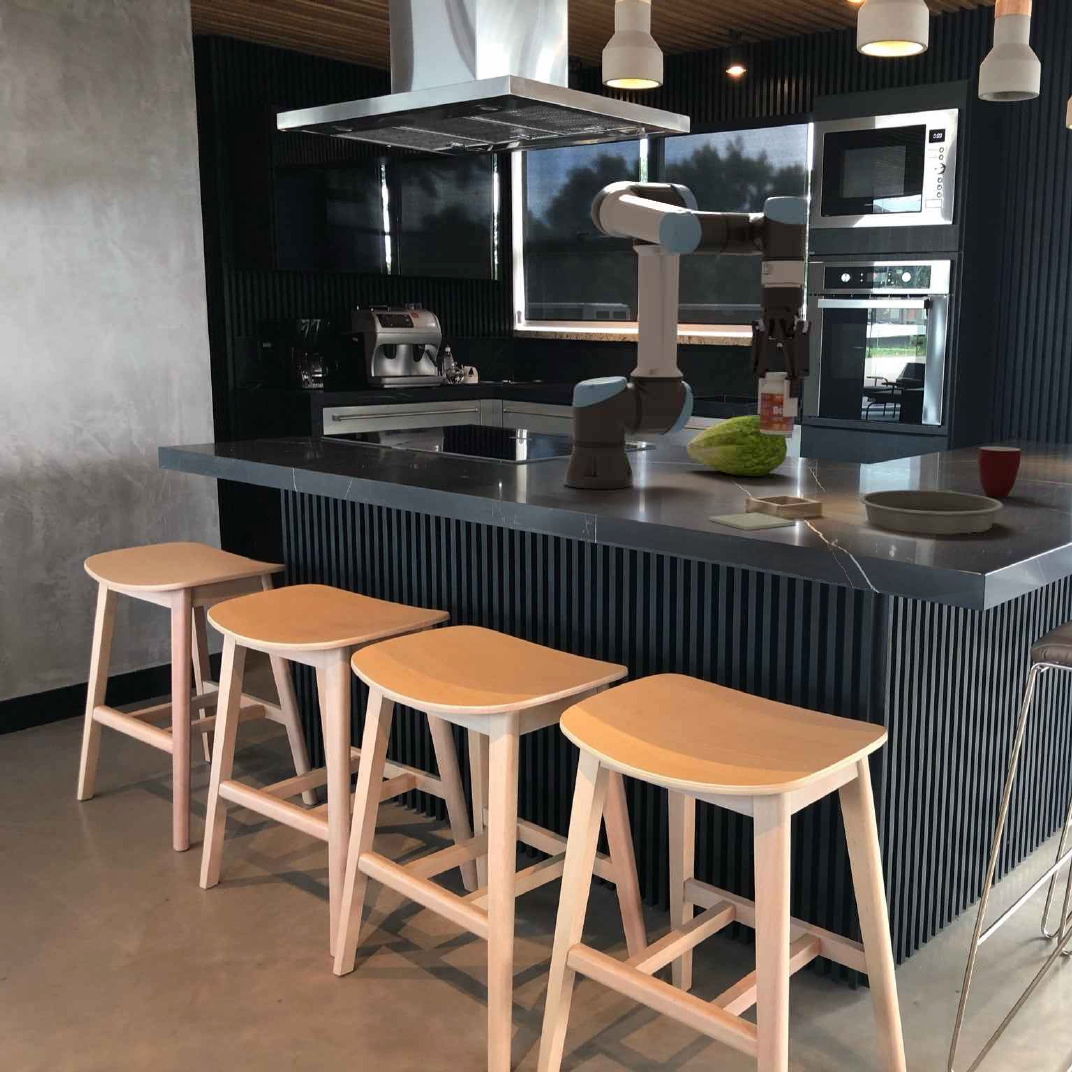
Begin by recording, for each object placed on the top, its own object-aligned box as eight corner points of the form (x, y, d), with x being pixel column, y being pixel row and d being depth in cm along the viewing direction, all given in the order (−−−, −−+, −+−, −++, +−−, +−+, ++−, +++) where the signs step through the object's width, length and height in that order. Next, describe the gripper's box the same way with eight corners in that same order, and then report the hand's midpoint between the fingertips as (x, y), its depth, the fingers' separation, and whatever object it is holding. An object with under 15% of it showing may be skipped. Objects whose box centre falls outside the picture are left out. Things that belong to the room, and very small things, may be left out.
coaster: (708, 520, 211) (709, 517, 211) (756, 515, 216) (756, 512, 216) (746, 530, 202) (746, 526, 202) (795, 524, 207) (795, 521, 207)
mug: (989, 491, 246) (992, 444, 245) (1027, 495, 241) (1031, 447, 239) (969, 496, 239) (972, 448, 237) (1008, 501, 233) (1012, 452, 232)
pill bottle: (773, 435, 208) (775, 373, 206) (752, 432, 213) (754, 372, 211) (800, 434, 211) (803, 373, 208) (779, 431, 216) (782, 371, 214)
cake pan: (834, 515, 218) (835, 491, 217) (950, 510, 224) (951, 487, 223) (903, 540, 195) (905, 513, 194) (1031, 534, 200) (1033, 508, 199)
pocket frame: (745, 511, 221) (746, 498, 220) (786, 507, 225) (787, 494, 225) (779, 519, 212) (780, 506, 211) (821, 515, 217) (822, 502, 216)
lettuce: (713, 468, 287) (704, 412, 284) (801, 465, 271) (792, 405, 268) (676, 486, 275) (666, 428, 272) (765, 484, 259) (756, 422, 256)
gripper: (731, 287, 213) (727, 411, 218) (803, 284, 197) (797, 419, 201) (763, 287, 217) (758, 410, 221) (835, 285, 201) (829, 418, 205)
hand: (777, 414), depth 211 cm, fingers closed on pill bottle, 6 cm apart
